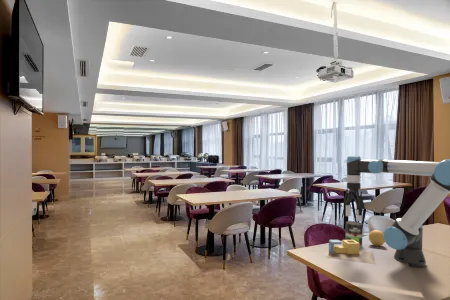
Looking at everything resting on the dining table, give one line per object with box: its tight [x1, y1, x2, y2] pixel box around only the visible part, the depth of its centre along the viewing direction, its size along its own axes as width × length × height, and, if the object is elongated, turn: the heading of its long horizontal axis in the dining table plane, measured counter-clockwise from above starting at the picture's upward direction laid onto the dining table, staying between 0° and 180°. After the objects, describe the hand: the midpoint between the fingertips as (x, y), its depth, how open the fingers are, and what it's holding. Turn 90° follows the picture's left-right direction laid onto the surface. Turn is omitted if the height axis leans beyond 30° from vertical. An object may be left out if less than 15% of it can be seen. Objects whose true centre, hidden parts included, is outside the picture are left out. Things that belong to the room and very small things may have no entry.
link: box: [334, 239, 361, 254], centre depth 182 cm, size 13×7×6 cm, turn 93°
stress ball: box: [368, 229, 386, 247], centre depth 200 cm, size 10×10×10 cm
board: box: [327, 250, 376, 265], centre depth 177 cm, size 24×20×2 cm
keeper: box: [328, 239, 343, 253], centre depth 182 cm, size 6×5×6 cm
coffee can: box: [345, 220, 364, 248], centre depth 201 cm, size 10×10×14 cm
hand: (353, 218), depth 182 cm, fingers open, 13 cm apart
